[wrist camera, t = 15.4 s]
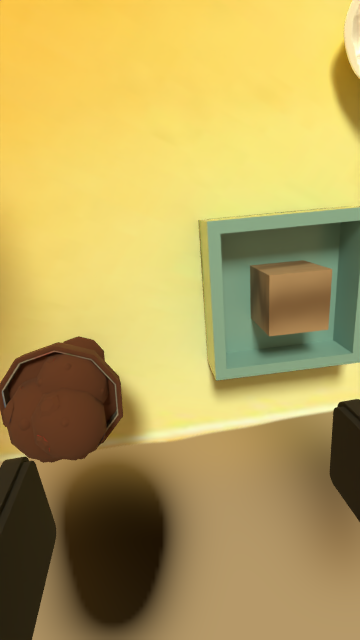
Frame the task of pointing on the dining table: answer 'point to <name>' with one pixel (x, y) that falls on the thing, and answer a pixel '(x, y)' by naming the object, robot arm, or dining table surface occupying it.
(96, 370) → the ice cream bowl
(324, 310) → the walnut cube
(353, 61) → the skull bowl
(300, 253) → the stoneware box
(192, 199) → the dining table surface
